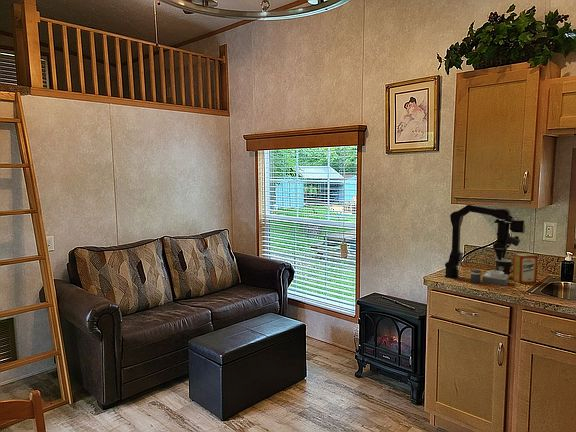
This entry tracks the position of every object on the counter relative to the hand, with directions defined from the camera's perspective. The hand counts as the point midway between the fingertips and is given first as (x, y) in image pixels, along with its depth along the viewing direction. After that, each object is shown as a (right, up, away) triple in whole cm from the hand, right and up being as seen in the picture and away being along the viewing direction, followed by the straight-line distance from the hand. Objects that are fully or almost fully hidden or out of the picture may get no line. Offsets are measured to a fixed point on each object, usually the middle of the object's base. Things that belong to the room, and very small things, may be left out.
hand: (501, 259), depth 230 cm
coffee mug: (+10, -13, +16) cm, 23 cm away
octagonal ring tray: (-1, -14, +4) cm, 15 cm away
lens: (-13, -14, +4) cm, 19 cm away
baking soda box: (+16, -14, +5) cm, 22 cm away
